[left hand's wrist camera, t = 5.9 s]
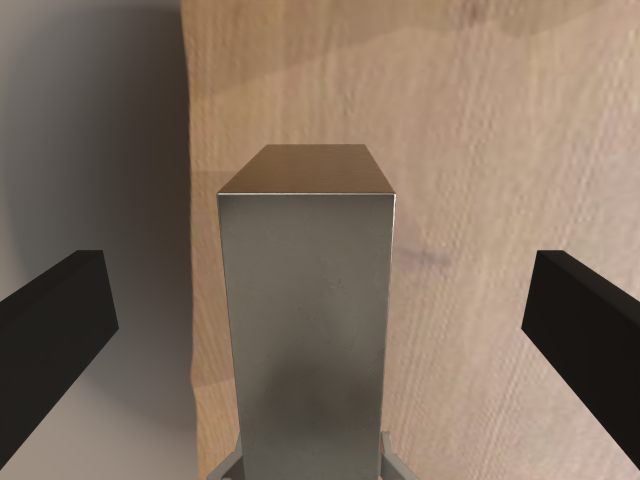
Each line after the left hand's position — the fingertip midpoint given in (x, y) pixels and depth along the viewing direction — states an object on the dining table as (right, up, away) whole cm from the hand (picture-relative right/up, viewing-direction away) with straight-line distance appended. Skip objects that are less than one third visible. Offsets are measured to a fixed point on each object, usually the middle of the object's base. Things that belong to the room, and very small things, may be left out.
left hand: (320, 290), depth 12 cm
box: (0, -2, +16) cm, 16 cm away
